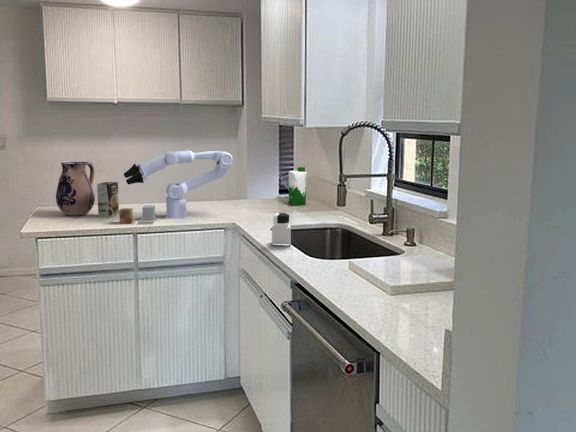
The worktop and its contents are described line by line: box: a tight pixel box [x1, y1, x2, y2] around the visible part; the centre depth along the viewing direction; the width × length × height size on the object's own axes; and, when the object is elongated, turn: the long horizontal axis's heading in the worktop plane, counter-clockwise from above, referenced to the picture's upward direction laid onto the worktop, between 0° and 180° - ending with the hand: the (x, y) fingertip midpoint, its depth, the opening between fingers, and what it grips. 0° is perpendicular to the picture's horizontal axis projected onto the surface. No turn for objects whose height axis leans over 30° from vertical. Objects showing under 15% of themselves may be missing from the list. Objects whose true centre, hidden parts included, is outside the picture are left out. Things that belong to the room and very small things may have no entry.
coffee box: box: [96, 181, 120, 219], centre depth 279 cm, size 9×6×16 cm
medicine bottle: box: [271, 212, 292, 245], centre depth 227 cm, size 7×7×12 cm
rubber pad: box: [135, 220, 155, 226], centre depth 265 cm, size 7×7×1 cm
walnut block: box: [118, 207, 134, 225], centre depth 264 cm, size 5×5×6 cm
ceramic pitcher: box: [55, 161, 96, 217], centre depth 285 cm, size 18×21×25 cm
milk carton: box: [288, 166, 308, 207], centre depth 316 cm, size 9×9×20 cm
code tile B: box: [139, 217, 159, 222], centre depth 273 cm, size 8×8×1 cm
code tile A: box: [115, 220, 138, 226], centre depth 265 cm, size 8×8×1 cm
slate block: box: [142, 204, 156, 220], centre depth 272 cm, size 5×5×6 cm
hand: (125, 179), depth 270 cm, fingers open, 7 cm apart
